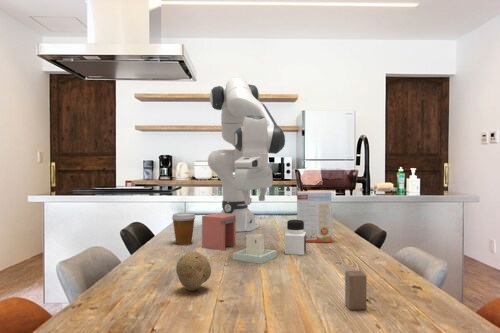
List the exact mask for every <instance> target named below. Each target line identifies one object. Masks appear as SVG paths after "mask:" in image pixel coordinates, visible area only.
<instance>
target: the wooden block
mask: <svg viewBox="0 0 500 333" xmlns="http://www.w3.org/2000/svg"><path fill="white" fill-rule="evenodd" d="M344 288H345V289H344V290H345V291H344V293H345V294H344V295H345V296H344V300H345V301H344V304H345V305H346V307H347V308H348V310H350V311H359V310H360V311H365V310H367V274H365V273H364V272H363V271H361V270H346V271H345V273H344Z"/></svg>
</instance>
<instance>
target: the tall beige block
mask: <svg viewBox="0 0 500 333" xmlns="http://www.w3.org/2000/svg"><path fill="white" fill-rule="evenodd" d="M245 238H246V240H245V241H246V242H245V243H246V244H245V249H246V254H249V255H256V256H261V255H264V249H265V234H260V233H259V234H258V233H249V234H246V236H245Z"/></svg>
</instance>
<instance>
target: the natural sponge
mask: <svg viewBox="0 0 500 333" xmlns="http://www.w3.org/2000/svg"><path fill="white" fill-rule="evenodd" d="M175 271H176V274H177V278H178V280H179V282H180V284H181V285H182V286H183V287H184V288H185V289H186V290H188V291H189V292H194V291H197V290H198V289H199V288H200V287H201V286H202V285H203V284H204V283H205V282H207V281H208V280H209V279H210V277H211V275H212V267H211V263H210V262H209V260H208V258H207V257H206V256H205V255H203V254H202V253H200V252H197V251H190V252H187V253H185V254H183V255H182V256H181V257H180V258H179V259H178V260H177V263H176V267H175Z"/></svg>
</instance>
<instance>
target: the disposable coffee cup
mask: <svg viewBox="0 0 500 333" xmlns="http://www.w3.org/2000/svg"><path fill="white" fill-rule="evenodd" d="M171 219H172V223H173V229H174V240H175V244H176V245H178V246H188V245H191V244H192V243H193V234H194V227H195V226H194V225H195V219H196V216H195V213H193V212H178V213H177V212H176V213H173V214H172V217H171Z"/></svg>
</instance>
